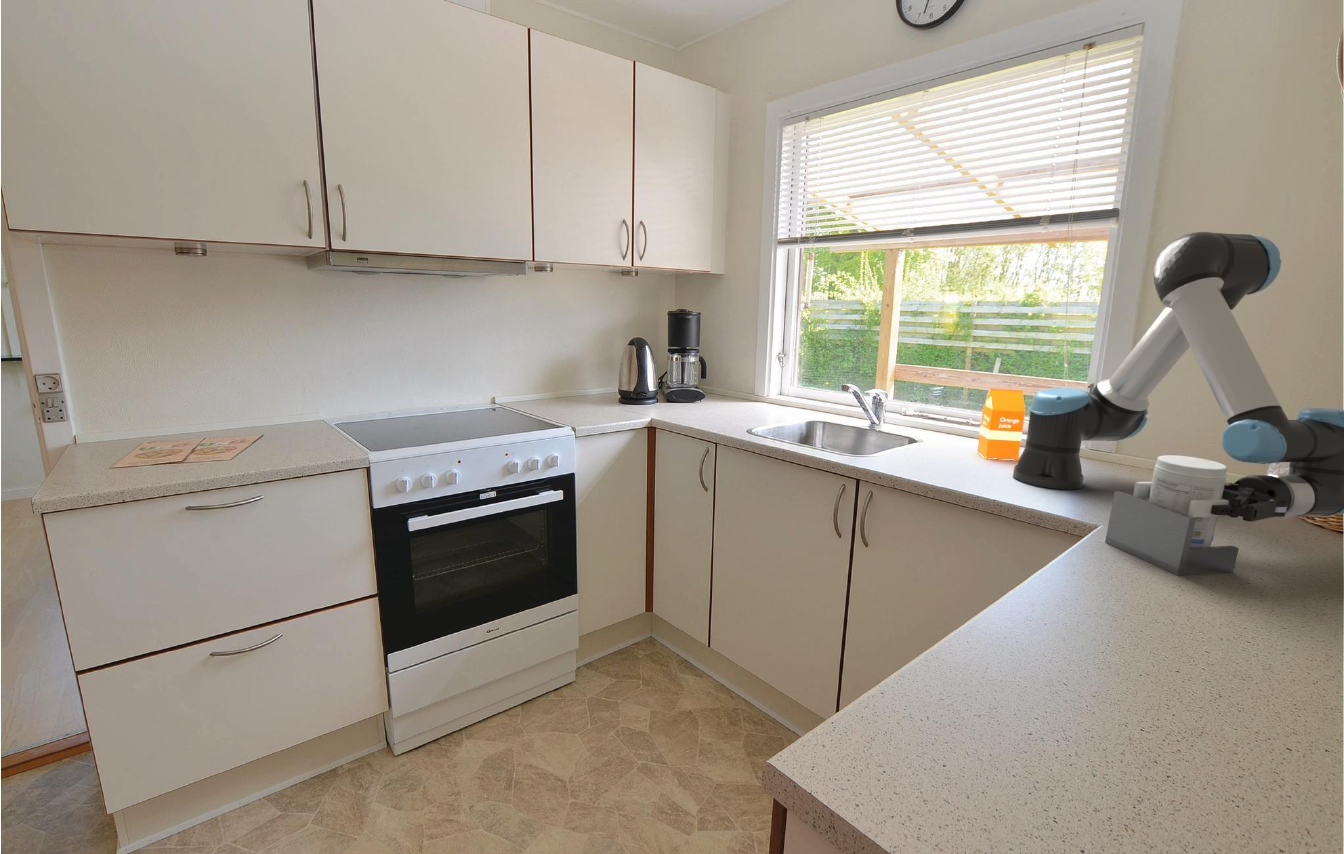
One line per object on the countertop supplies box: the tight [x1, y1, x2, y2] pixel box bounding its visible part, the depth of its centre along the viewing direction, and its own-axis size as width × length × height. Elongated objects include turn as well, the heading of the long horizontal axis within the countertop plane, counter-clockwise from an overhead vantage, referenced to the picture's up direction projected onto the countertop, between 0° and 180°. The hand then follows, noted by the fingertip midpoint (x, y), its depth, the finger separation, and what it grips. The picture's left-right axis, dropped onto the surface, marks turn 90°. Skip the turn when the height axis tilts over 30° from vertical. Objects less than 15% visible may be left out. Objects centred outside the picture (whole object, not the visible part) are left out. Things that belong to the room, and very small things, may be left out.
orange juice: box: [977, 388, 1026, 461], centre depth 174 cm, size 8×9×20 cm
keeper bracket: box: [1104, 490, 1240, 576], centre depth 106 cm, size 14×11×10 cm
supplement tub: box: [1147, 454, 1228, 548], centre depth 105 cm, size 10×10×15 cm
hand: (1162, 498), depth 104 cm, fingers closed on supplement tub, 9 cm apart
